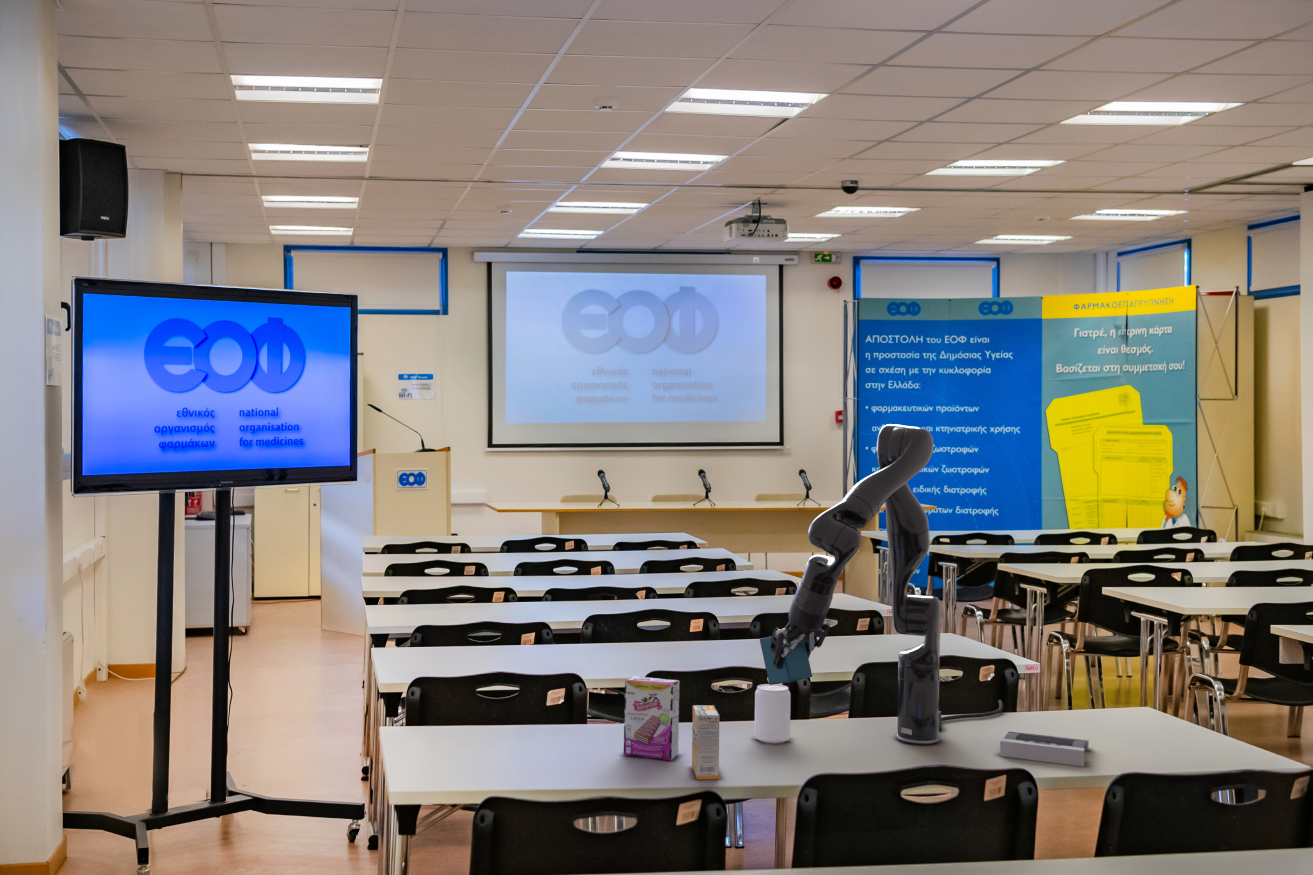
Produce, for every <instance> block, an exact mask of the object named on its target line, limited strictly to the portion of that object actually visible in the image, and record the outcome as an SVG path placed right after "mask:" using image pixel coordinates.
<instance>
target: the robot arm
mask: <svg viewBox="0 0 1313 875" xmlns="http://www.w3.org/2000/svg"><path fill="white" fill-rule="evenodd" d="M933 452H934V438H933V436H932V434H931V432H930V431H929V430H927V429H925V428H922V427H917V426H911V425H902V424H896V423H895V424H892V423H889V424H886V425H883V426H882V427H881V429H880V430H879V432H878V435H877V441H876V455H877V461H878V467H879V470H878V471H875V472H873V473H871V474H870V475H868V476H865V477H863V479H861V480H860V481H858V482H857V483H855V484H854V486H852V488H851V489H850V490H849V491H848V493H847V494H846V495H845V496H844V497H843V499H842V500H841V501H840V502H838V503H837V504H835V505H834V506H832V507H831V508H828V509H827V510H825V511H823V512H822V513H820V514H819V515H818V516H817V517H815V518H814V520H813V521H812V522H811V523H810V525H809V528H808V531H807V537H808V538H807V539H808V541H809V542H810V544H811V545H812V546H814V547H816V549H819V550H821V551H823V552H825V553H827V554H829V555H830V556H829V555H824V554H814V555H812V556H811V557H810V558H809V559H808V560H807V563H806V565H805V569H804V571H803V573H802V577H801V580H800V581H799V583H798V586H797V587H796V590H795V593H794V596H793V599H792V602H791V605H790V607H789V611H788V622H787V624H786V625H785V626H784V628H781V629H780V628H779V627H777V626H776V627H775V628H773V631H772V634H771V636H772V639H771V643H770V647H769V648H770V650H771V651H772V652H773V653H774V654H775V656H774V659H773V665H774V666H775V667H776V668H777V669H778V670H779V669H782V666H783V663H784V660H785V658H786V655H787V653H788V652H789V651H790V650H793V649H794V648H795V646H796V645H797V644H799V643H801V642H802V643H804V642H805V645H806V650H807V654H808V659H810V656H811V654H812V652H813V651H815V648H821V647H822V645H823V643H824V641H825V639H826V636H827V635H828V632H829V630H830V629H831V625H830V624H829V622H827V621H826V618H827V615H828V612H829V610H830V606H831V605H832V601H833V596H834V592H835V590H836V587H837V584H838V581H839V579H840V576H841V574H842V573H843V571H844V569H845V568H846V567H847V565H848V563H849V562H850V561H851V560H852V559H853V558H854V556H855V555H856V554H857V553H858V551H859V549H860V548H861V545H862V541H863V540H862V534H861V532H860V531H859V530H860V529H863V528H865V527H866V526H868V524H869V523H870V522H871V520H872V519H873V518H874V517H875V515H876V514H877V512H879V510H880V509H881V507H882V506H884V505H885V520H886V538H887V545H888V554H889V564H890V575H891V576H890V577H891V619H892V625H893V628H894V631H895V632H896V633H897V634H900V635H907V636H919V637H924V641H923V642H922V643H920V644H919V645H917V646H914V647H910V648H906V649H903V650H901V651H900V652H899V653H898V656H897V657H898V661H897V663H898V666H897V667H898V670H897V671H898V672H897V678H898V679H897V733H896V739H897V740H898V741H901V742H903V743H907V744H911V745H912V744H913V745H934V744H936V743H939V742H940V736H939V734H940V733H939V732H941V731H942V730H943V728H942V722H946V721H951V720H960V719H974V718H977V719H978V718H987V717H991V716H995V715H998V714H1000V713H1002V712H1003V710H1004V703H1003V701H1002V699H998V708H997V709H996V710H992V711H987V712H980V713H965V714H956V715H955V714H954V715H947V716H942V711H941V710H940V654H941V653H940V650H941V649H940V648H941V628H942V613H943V612H942V603H941V601H940V599H939V597H937V596H932V595H919V594H909V593H908V585H909V583H910V581H911V579H912V577H913V575H914V573H915V571H916V570H917V569H918V568H919V566H920V565H921V564H922V562H923V560H924V559H925V557H926V555H927V554H928V552H929V550H930V544H931V540H930V524H929V519H928V515H927V513H926V512H925V510H924V508H923V506H922V505H921V503H920V501H919V500H918V498H917V497H916V496H915V494H914V492H913V491H912V490H911V488H910V486H909V484H908V482H909V481H910V480H912V479H913V478H914V477H915V476H916V475H917V474H918V473H920V472H921V471H922V470H923V469H924V468H925V467H926V466H927V465H928V464H929V461H930V460H931V458H932V456H933ZM832 556H833V557H832ZM787 638H789V640H790V641H791V642H792V643H791V644H790V643H789V642H788V640H787ZM784 645H785V646H786V648H785V649H784V650H783V649H782V647H783V646H784Z"/></svg>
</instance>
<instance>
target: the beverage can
mask: <svg viewBox="0 0 1313 875" xmlns="http://www.w3.org/2000/svg"><path fill="white" fill-rule="evenodd" d="M789 689H790V688H789V686H787V685H784V684H773V685H769V683H764V684H758V685H757V686H756V690H755V692H754V732H753V733H754V735H753V736H754V738H755V739H756V740H758V741H760V742H762V743H766V744H782V743H785V742H786V741H788V740H790V739H791V699H792V698H791V692H790V690H789Z"/></svg>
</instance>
